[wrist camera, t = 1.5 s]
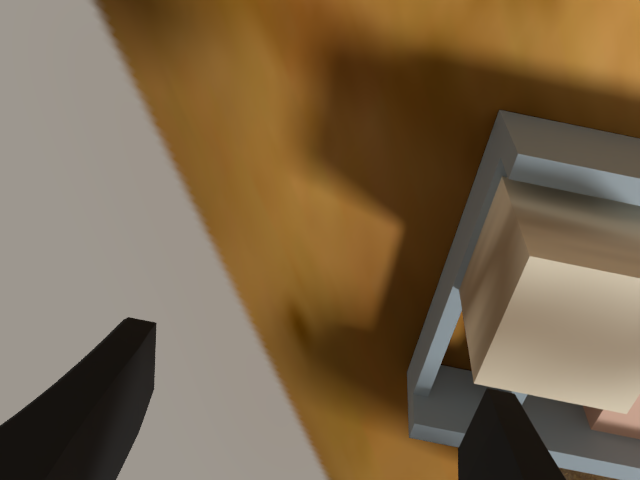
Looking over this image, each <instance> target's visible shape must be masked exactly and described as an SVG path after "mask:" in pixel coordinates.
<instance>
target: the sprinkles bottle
mask: <svg viewBox="0 0 640 480" xmlns="http://www.w3.org/2000/svg"><path fill="white" fill-rule="evenodd" d="M559 469H560V470H561V472H562V474H563V475H564V477H565V478H566V480H619V479H614V478H609V477H604V476H599V475H594V474H589V473H584V472H579V471H574V470H569V469H564V468H559Z"/></svg>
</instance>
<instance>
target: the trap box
mask: <svg viewBox="0 0 640 480" xmlns="http://www.w3.org/2000/svg"><path fill="white" fill-rule="evenodd" d="M502 176H503V177H508V179H510V180H515V181H520V182H525V183H530V184H535V185H540V186H545V187H550V188H554V189H559V190H564V191H569V192H574V193H579V194H584V195H589V196H593V197H598V198H603V199H608V200H613V201H618V202H623V203H628V204H633V205H637V206H640V139H639V138H634V137H629V136H625V135H620V134H615V133H610V132H605V131H600V130H595V129H591V128H586V127H581V126H576V125H571V124H566V123H561V122H557V121H552V120H547V119H542V118H537V117H532V116H527V115H523V114H518V113H513V112H508V111H503V110H499V112H498V115H497V117H496V120H495V123H494V126H493V129H492V132H491V135H490V137H489V140H488V143H487V146H486V149H485V152H484V154H483V157H482V160H481V163H480V166H479V169H478V172H477V174H476V177H475V180H474V183H473V186H472V189H471V191H470V194H469V197H468V200H467V203H466V206H465V209H464V211H463V214H462V217H461V220H460V223H459V226H458V229H457V231H456V234H455V237H454V240H453V243H452V246H451V248H450V251H449V254H448V257H447V260H446V263H445V266H444V268H443V271H442V274H441V277H440V280H439V283H438V285H437V288H436V291H435V294H434V297H433V300H432V303H431V305H430V308H429V311H428V314H427V317H426V320H425V323H424V325H423V328H422V331H421V334H420V337H419V340H418V342H417V345H416V348H415V351H414V354H413V357H412V360H411V362H410V365H409V368H408V371H407V390H408V421H409V438H414V439H419V440H424V441H429V442H434V443H439V444H444V445H449V446H454V447H459V446H460V444H461V442H462V440H463V437H464V435H465V433H466V431H467V429H468V427H469V425H470V423H471V420H472V418H473V416H474V414H475V412H476V410H477V408H478V406H479V404H480V401H481V399H482V397H483V395H484V393H485V391H486V389H487V388H489V389H494V390H499V391H504V392H509V393H514V394H515V395H516V397H517V398H518V400H519V402H520V403H521V405H522V407H523V408H524V410H525V412H526V414H527V415H528V417H529V419H530V420H531V422H532V424H533V426H534V427H535V429H536V431H537V432H538V434H539V436H540V438H541V439H542V441H543V443H544V444H545V446H546V448H547V449H548V451H549V453H550V454H551V456H552V458H553V459H554V461H555V462H556V464H557V466H558V467H559V468H564V469H569V470H574V471H579V472H584V473H589V474H594V475H599V476H604V477H609V478H614V479H619V480H640V394H639V396H638V398H637V399H636V401H635V402H634V404H633V405H632V407H631V408H630V410H629V411H628V413H627V414H623V413H618V412H613V411H608V410H603V409H598V408H593V407H588V406H583V405H578V404H573V403H568V402H563V401H558V400H553V399H548V398H543V397H538V396H533V395H528V394H523V393H518V392H513V391H508V390H503V389H498V388H493V387H488V386H484V385H479V384H474V382H473V375H472V371H469V370H464V369H459V368H454V367H449V366H444V365H441V362H442V360H443V357H444V355H445V352H446V349H447V347H448V344H449V342H450V339H451V337H452V334H453V331H454V329H455V326H456V324H457V321H458V319H459V316H460V313H461V311H462V306H461V300H460V294H459V289H460V286H461V283H462V281H463V278H464V275H465V273H466V270H467V267H468V265H469V262H470V260H471V257H472V254H473V252H474V249H475V246H476V244H477V241H478V238H479V236H480V233H481V230H482V228H483V225H484V222H485V220H486V217H487V214H488V212H489V209H490V206H491V204H492V201H493V198H494V196H495V193H496V191H497V188H498V185H499V183H500V180H501V177H502Z"/></svg>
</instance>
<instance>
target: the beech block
mask: <svg viewBox="0 0 640 480" xmlns="http://www.w3.org/2000/svg"><path fill="white" fill-rule="evenodd" d="M459 294H460V300H461V306H462V312H463V319H464V325H465V331H466V338H467V344H468V350H469V357H470V363H471V369H472V375H473V382H474V384H479V385H484V386H488V387H493V388H498V389H503V390H508V391H513V392H518V393H523V394H528V395H533V396H538V397H543V398H548V399H553V400H558V401H563V402H568V403H573V404H578V405H583V406H588V407H593V408H598V409H603V410H608V411H613V412H618V413H623V414H627V413H628V411H629V410H630V408H631V407H632V405H633V404H634V402H635V401H636V399H637V398H638V396H639V394H640V206H637V205H633V204H628V203H623V202H618V201H613V200H608V199H603V198H598V197H593V196H589V195H584V194H579V193H574V192H569V191H564V190H559V189H554V188H550V187H545V186H540V185H535V184H530V183H525V182H520V181H515V180H510V179H508V177H503V176H502V177H501V180H500V183H499V185H498V188H497V191H496V193H495V196H494V198H493V201H492V204H491V206H490V209H489V212H488V214H487V217H486V220H485V222H484V225H483V228H482V230H481V233H480V236H479V238H478V241H477V244H476V246H475V249H474V252H473V254H472V257H471V260H470V262H469V265H468V267H467V270H466V273H465V275H464V278H463V281H462V283H461V286H460V289H459Z"/></svg>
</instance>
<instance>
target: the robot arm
mask: <svg viewBox="0 0 640 480" xmlns="http://www.w3.org/2000/svg"><path fill="white" fill-rule="evenodd" d="M155 345H156V323H155V322H149V321H145V320H139V319H134V318H129V317H128V318H127V319H124V320H123V321H122V322H121V323H120V324H119V325H118V326H117V327H116V328H115V329H114V330H113V331H112V332H111V333H110V334H109V335H108V336H107V337H106V338H105V339H104V340H103V341H102V342H101V343H99V344H98V345H97V346H96V347H95V348H94V349H93V350H92V351H91V352H90V353H89V354H88V355H87V356H85V357H84V358H83V359H82V360H81V361H80V362H79V363H78V364H77V365H76V366H74V367H73V368H72V369H71V370H70V371H68V372H67V373H66V374H65V375H64V376H63V377H62V378H60V379H59V380H58V381H57V382H56V383H55V384H54V385H52V386H51V387H50V388H49V389H48V390H46V391H45V392H44V393H42V394H41V395H40V396H39V397H37V398H36V399H35V400H34V401H32V402H31V403H30V404H28V405H27V406H26V407H25V408H23V409H22V410H21V411H19V412H18V413H17V414H16V415H14V416H13V417H12V418H10V419H9V420H7V421H6V422H5V423H3V424H2V425H0V480H116V478H117V476H118V474H119V472H120V470H121V468H122V466H123V464H124V462H125V459H126V458H127V456H128V454H129V451H130V450H131V447H132V445H133V443H134V441H135V439H136V437H137V435H138V433H139V430H140V427H141V424H142V422H143V419H144V416H145V413H146V411H147V407H148V405H149V402H150V399H151V396H152V393H153V390H154V372H155ZM458 480H566V478H565V477H564V475H563V474H562V472H561V470H560V469H559V467H558V466H557V464H556V462H555V461H554V459H553V458H552V456H551V454H550V453H549V451H548V449H547V448H546V446H545V444H544V443H543V441H542V439H541V438H540V436H539V434H538V432H537V431H536V429H535V427H534V426H533V424H532V422H531V420H530V419H529V417H528V415H527V414H526V412H525V410H524V408H523V407H522V405H521V403H520V402H519V400H518V398H517V397H516V395H515V394H514V393H509V392H504V391H499V390H494V389H489V388H487V389H486V391H485V393H484V395H483V397H482V399H481V401H480V404H479V406H478V408H477V410H476V412H475V414H474V416H473V418H472V420H471V423H470V425H469V427H468V429H467V431H466V433H465V435H464V437H463V440H462V442H461V444H460V446H459V448H458Z"/></svg>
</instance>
